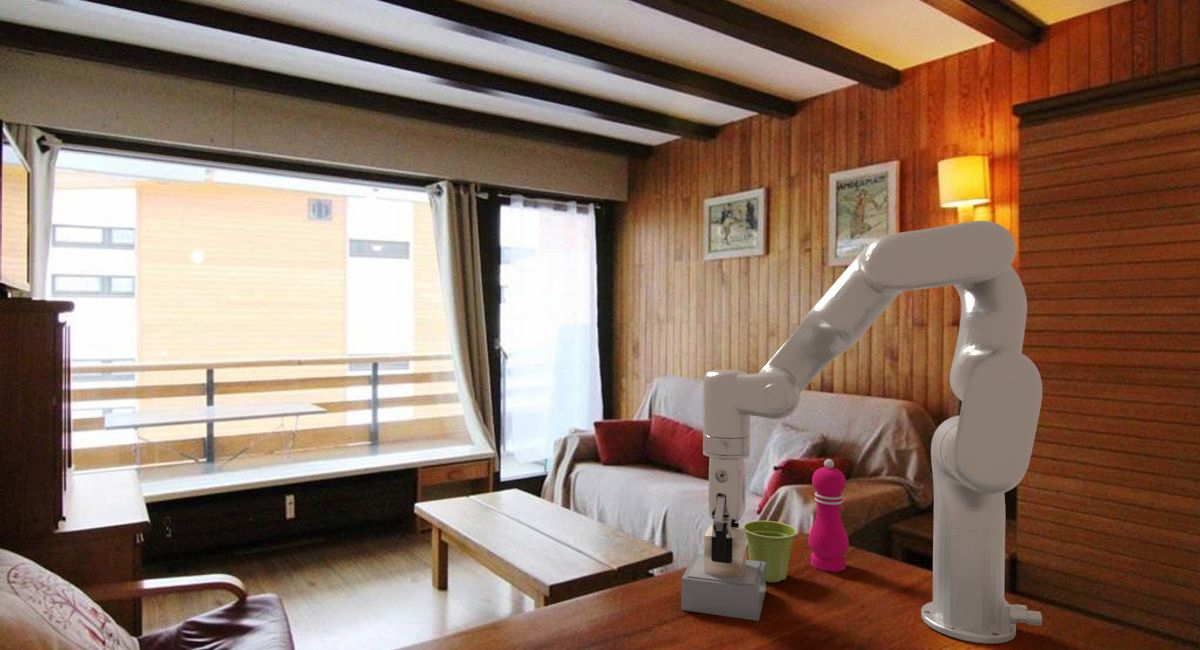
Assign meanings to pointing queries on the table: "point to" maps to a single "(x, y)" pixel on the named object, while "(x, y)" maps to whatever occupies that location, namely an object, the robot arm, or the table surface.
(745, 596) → the slate stand
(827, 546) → the pepper mill
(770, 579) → the plant pot
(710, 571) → the birch block
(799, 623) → the table surface
